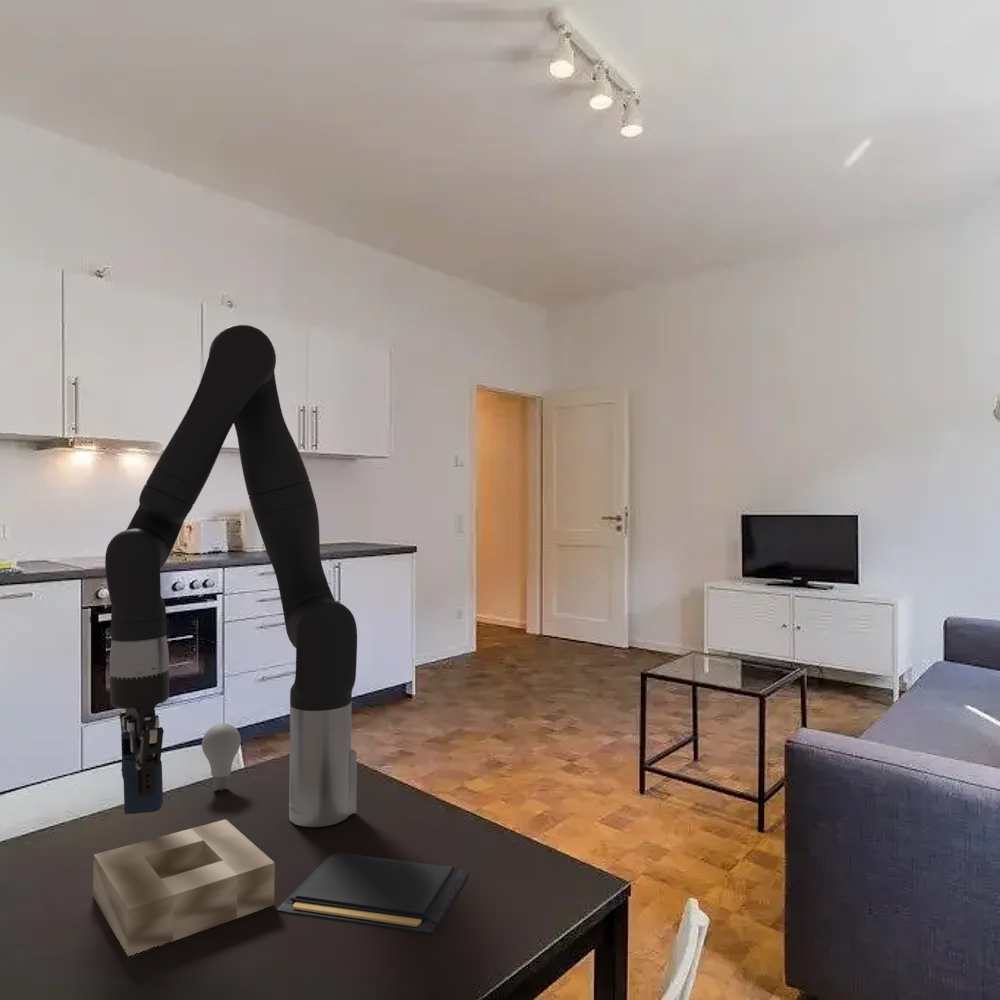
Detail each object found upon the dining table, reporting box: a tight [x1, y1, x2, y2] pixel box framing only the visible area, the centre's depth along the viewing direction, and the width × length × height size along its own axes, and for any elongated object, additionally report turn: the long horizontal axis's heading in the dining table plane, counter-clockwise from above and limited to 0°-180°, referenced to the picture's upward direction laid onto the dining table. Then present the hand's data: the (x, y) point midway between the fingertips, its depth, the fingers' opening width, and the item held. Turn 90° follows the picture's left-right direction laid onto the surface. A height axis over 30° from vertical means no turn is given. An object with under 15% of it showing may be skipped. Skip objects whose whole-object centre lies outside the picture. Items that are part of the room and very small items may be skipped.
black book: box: [274, 852, 469, 936], centre depth 91 cm, size 20×2×15 cm
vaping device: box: [120, 726, 164, 815], centre depth 104 cm, size 3×5×12 cm, turn 98°
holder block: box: [92, 819, 276, 957], centre depth 89 cm, size 16×16×5 cm
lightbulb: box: [201, 723, 242, 791], centre depth 123 cm, size 6×6×11 cm
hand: (141, 789), depth 104 cm, fingers closed on vaping device, 3 cm apart
